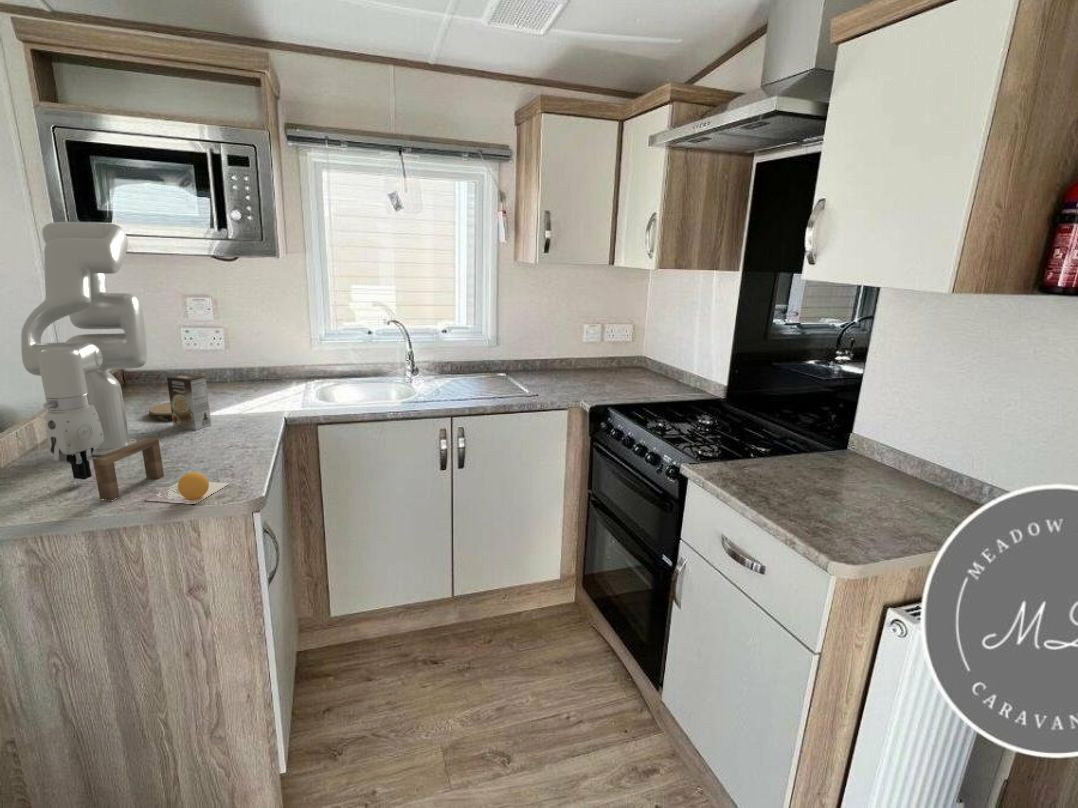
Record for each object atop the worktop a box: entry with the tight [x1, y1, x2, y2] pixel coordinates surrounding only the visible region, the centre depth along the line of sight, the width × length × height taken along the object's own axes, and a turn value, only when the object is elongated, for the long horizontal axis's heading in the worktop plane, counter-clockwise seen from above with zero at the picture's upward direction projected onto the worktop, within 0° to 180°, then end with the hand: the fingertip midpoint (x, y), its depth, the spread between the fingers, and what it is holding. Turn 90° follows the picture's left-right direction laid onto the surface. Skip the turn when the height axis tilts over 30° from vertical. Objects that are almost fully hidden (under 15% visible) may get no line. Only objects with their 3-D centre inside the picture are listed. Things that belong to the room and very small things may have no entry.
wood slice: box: [148, 401, 173, 422], centre depth 191 cm, size 16×16×3 cm
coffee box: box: [166, 372, 212, 431], centre depth 178 cm, size 9×6×16 cm
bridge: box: [92, 437, 165, 500], centre depth 132 cm, size 3×15×10 cm, turn 172°
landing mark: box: [155, 481, 231, 504], centre depth 132 cm, size 12×12×1 cm
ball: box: [177, 471, 210, 499], centre depth 128 cm, size 6×6×6 cm
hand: (82, 477), depth 135 cm, fingers closed
